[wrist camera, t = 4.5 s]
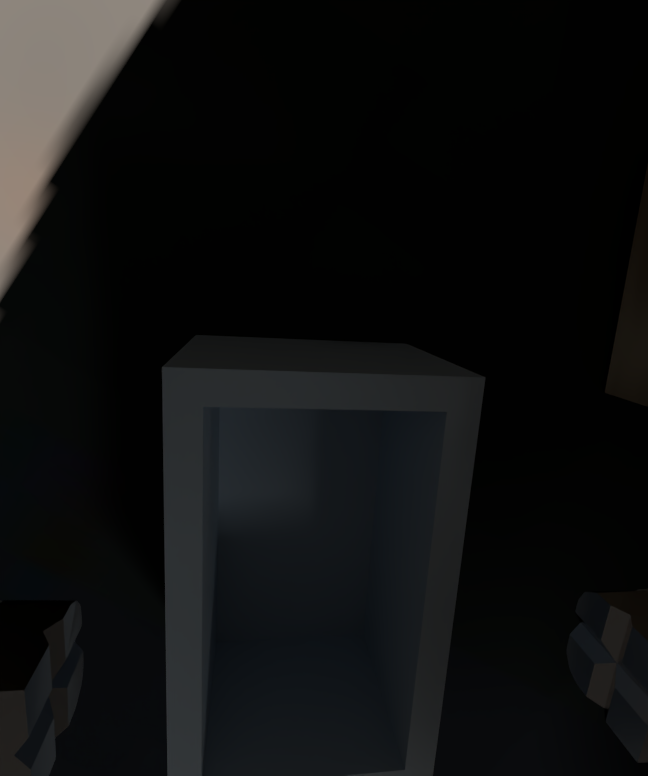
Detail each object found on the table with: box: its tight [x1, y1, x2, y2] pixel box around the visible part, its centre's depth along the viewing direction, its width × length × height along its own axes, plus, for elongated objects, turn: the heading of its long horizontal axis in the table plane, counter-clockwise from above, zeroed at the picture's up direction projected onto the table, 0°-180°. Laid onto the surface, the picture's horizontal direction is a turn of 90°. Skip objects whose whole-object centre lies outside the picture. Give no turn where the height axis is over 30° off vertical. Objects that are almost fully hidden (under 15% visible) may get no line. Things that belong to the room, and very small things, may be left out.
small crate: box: [162, 335, 486, 776], centre depth 12 cm, size 10×6×5 cm, turn 177°
